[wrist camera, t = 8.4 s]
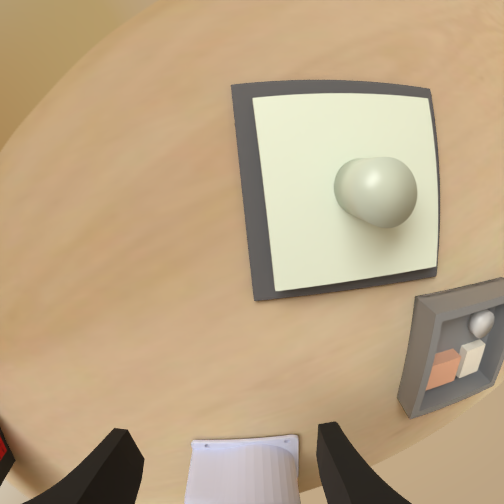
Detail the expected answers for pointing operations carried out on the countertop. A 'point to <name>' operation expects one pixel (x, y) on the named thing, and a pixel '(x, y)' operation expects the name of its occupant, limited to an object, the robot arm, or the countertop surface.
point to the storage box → (453, 346)
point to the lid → (347, 186)
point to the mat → (254, 182)
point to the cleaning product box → (5, 458)
